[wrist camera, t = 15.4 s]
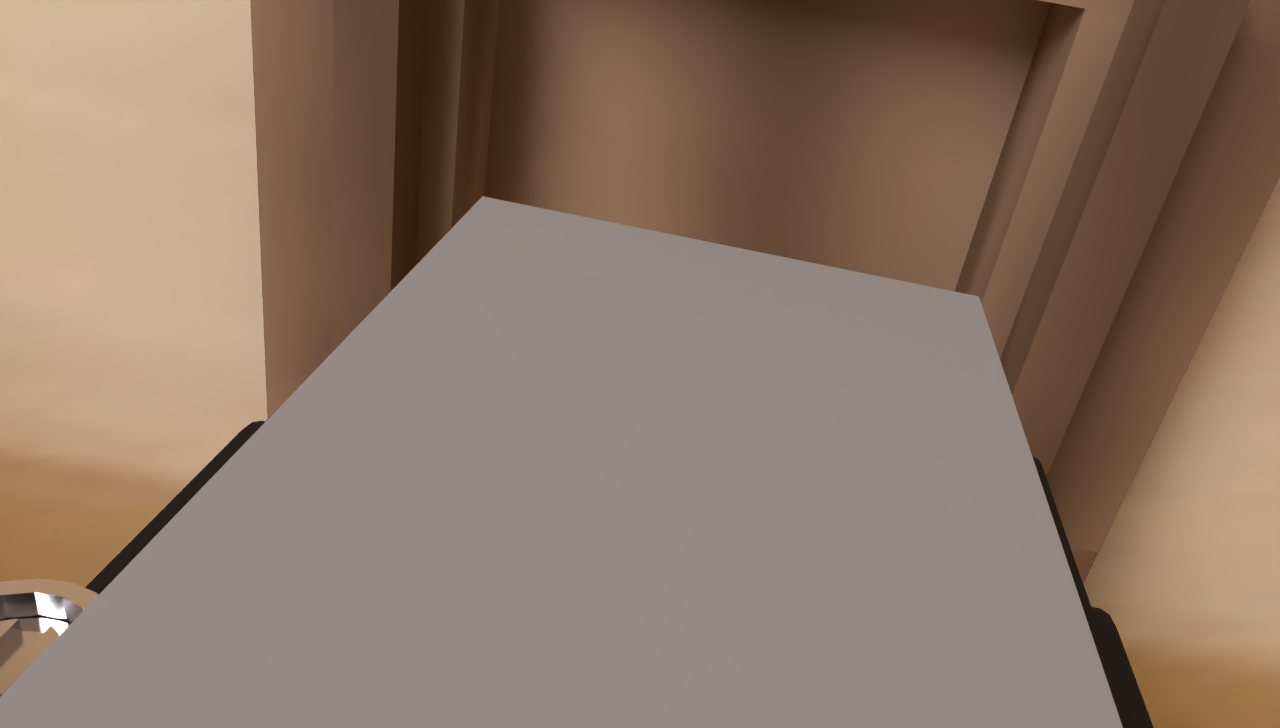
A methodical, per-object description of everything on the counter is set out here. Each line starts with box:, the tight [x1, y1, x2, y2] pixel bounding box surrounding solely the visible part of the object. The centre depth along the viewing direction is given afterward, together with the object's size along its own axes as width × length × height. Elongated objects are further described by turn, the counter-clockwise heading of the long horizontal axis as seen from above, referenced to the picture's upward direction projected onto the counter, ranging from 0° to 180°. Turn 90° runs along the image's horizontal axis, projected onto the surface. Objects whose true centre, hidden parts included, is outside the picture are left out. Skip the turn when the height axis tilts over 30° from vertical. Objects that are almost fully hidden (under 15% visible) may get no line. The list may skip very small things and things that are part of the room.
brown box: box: [251, 0, 1280, 583], centre depth 19 cm, size 16×19×4 cm
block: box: [0, 196, 1123, 728], centre depth 8 cm, size 5×5×7 cm
